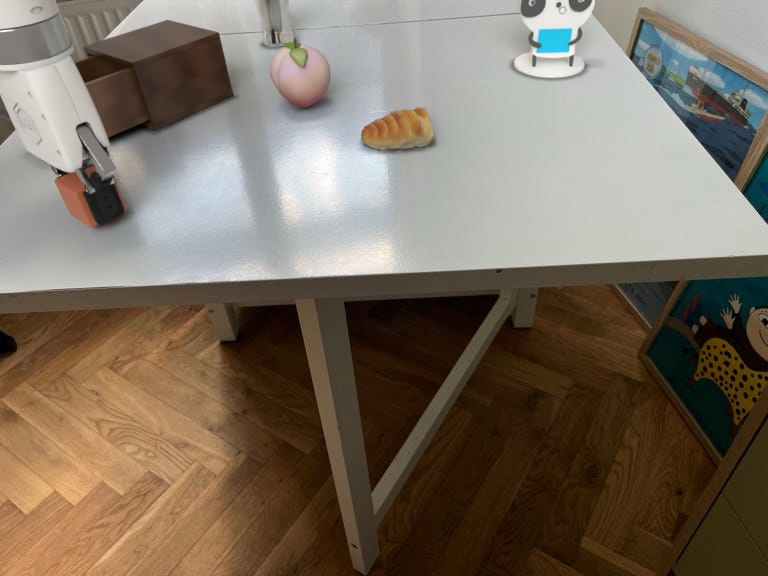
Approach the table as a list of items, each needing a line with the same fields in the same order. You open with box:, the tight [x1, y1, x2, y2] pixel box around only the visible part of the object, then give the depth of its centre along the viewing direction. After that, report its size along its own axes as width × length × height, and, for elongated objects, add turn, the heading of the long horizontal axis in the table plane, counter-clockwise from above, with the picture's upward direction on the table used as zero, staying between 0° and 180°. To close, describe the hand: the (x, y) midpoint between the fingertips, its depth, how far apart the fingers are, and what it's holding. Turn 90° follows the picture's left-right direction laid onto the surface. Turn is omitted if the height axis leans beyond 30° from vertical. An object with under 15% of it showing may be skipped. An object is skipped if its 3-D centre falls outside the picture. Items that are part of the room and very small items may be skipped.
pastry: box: [360, 106, 435, 151], centre depth 73 cm, size 9×7×4 cm
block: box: [53, 165, 128, 228], centre depth 60 cm, size 4×4×4 cm
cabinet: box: [82, 19, 234, 131], centre depth 83 cm, size 15×13×10 cm
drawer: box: [0, 55, 149, 138], centre depth 76 cm, size 18×11×8 cm, turn 142°
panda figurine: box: [513, 0, 596, 79], centre depth 87 cm, size 12×11×15 cm
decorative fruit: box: [269, 37, 331, 109], centre depth 80 cm, size 9×8×10 cm
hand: (97, 209), depth 61 cm, fingers closed on block, 4 cm apart
